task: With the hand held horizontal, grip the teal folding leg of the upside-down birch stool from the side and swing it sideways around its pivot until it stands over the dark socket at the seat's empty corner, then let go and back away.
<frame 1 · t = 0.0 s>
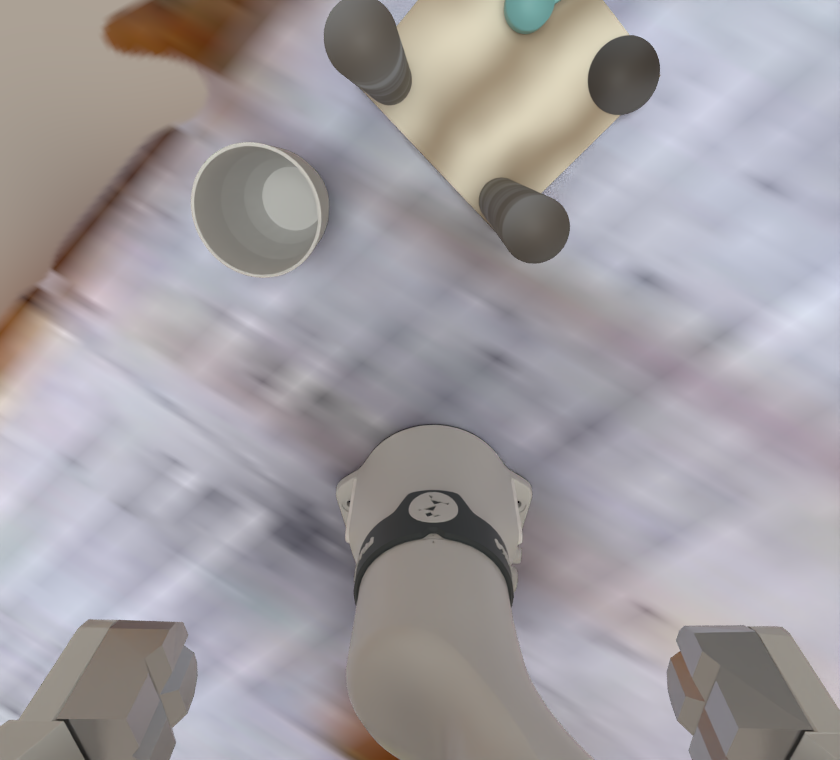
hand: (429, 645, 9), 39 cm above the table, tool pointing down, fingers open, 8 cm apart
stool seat: (502, 81, 40), on the table
cup: (294, 198, 44), on the table
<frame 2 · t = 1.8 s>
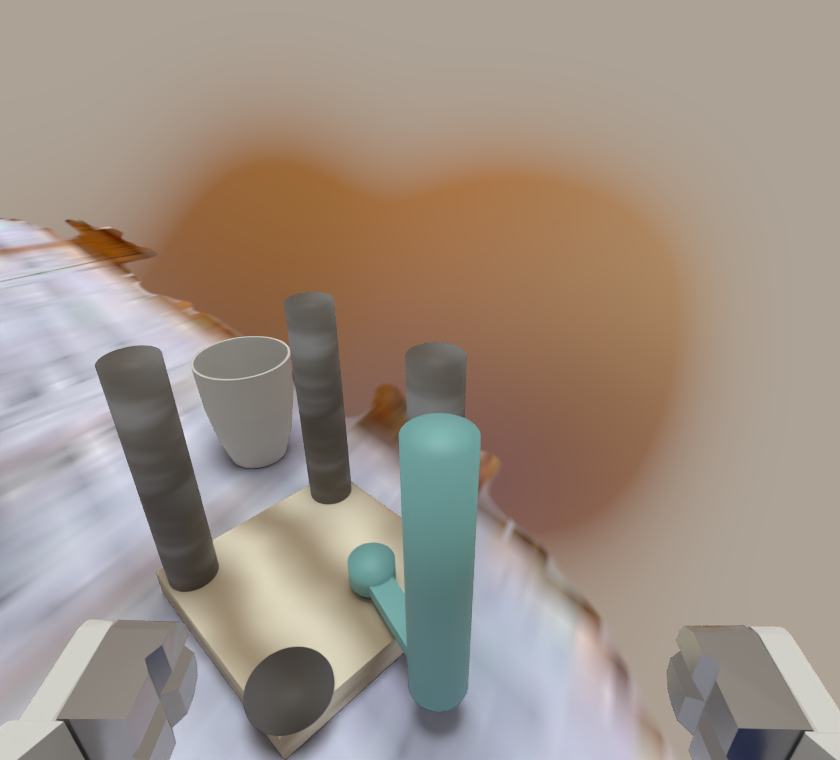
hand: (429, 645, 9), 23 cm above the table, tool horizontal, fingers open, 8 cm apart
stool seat: (317, 591, 38), on the table
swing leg: (398, 524, 29), point 11 cm above the table, hinge at 0.0°
cup: (259, 453, 52), on the table
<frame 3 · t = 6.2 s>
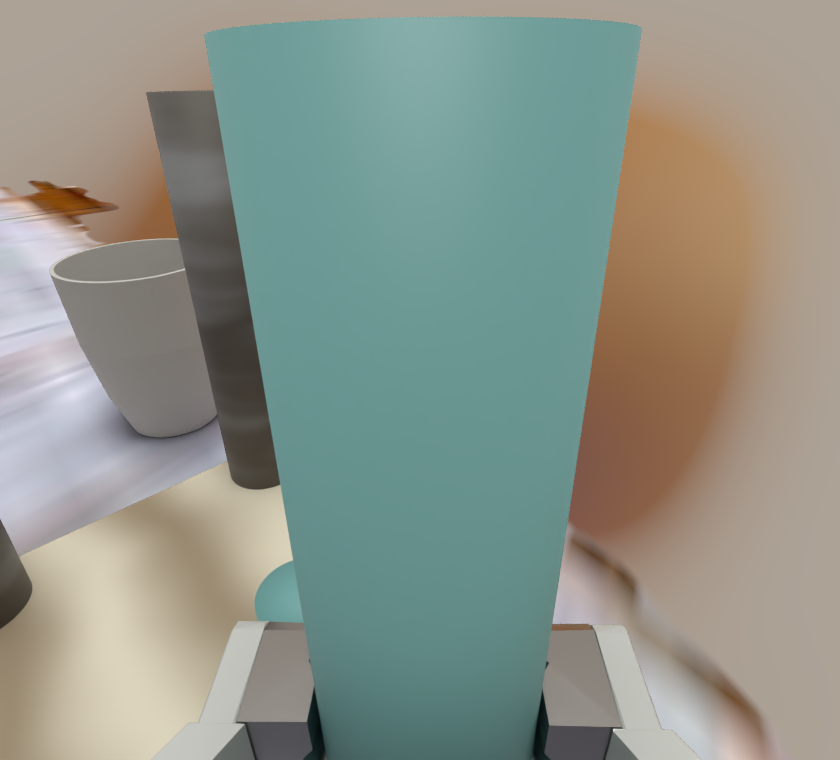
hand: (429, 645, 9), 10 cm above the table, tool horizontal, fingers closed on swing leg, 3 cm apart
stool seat: (215, 646, 20), on the table
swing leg: (331, 515, 11), point 11 cm above the table, hinge at 0.1°, touching gripper
cup: (177, 417, 35), on the table
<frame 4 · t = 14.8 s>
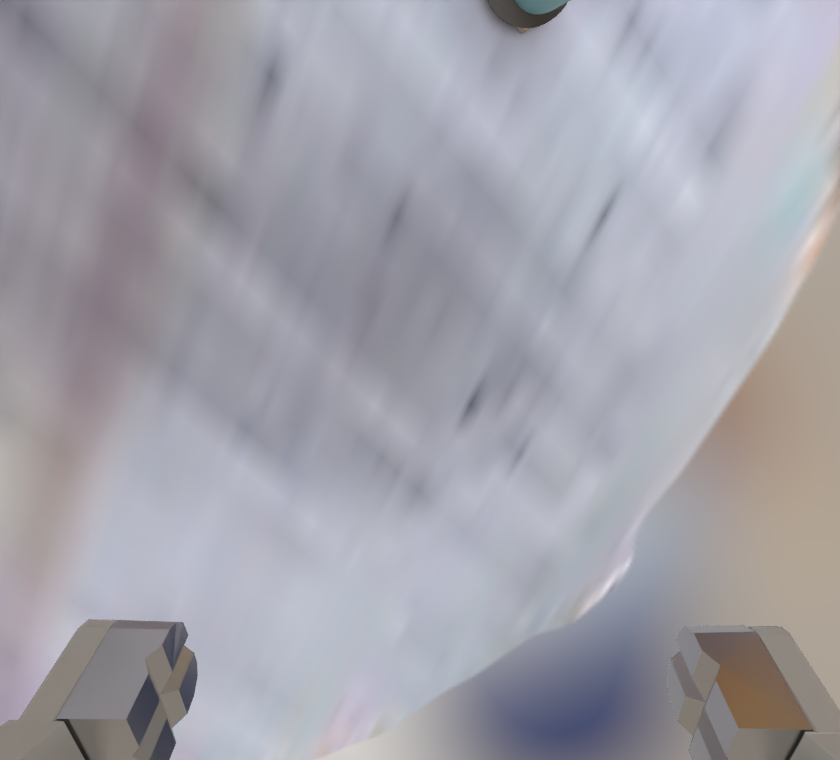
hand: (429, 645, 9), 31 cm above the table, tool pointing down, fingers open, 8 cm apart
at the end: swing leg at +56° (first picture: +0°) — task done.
